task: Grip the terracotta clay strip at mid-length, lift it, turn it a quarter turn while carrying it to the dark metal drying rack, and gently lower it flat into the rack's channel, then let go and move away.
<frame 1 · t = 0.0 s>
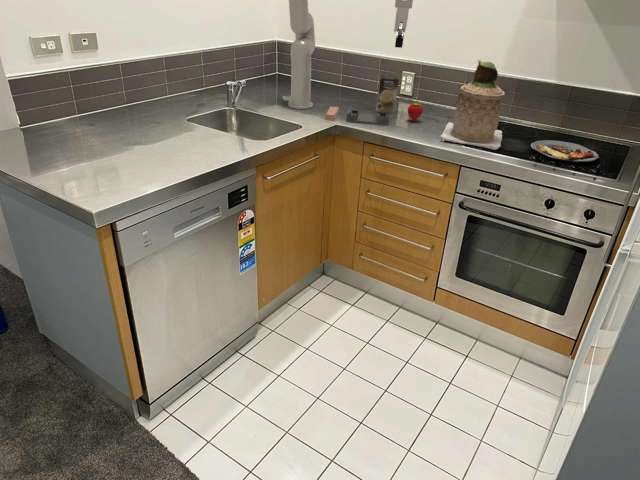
hand: (398, 45, 221), 31 cm above the worktop, tool pointing down, fingers open, 9 cm apart
clay strip: (332, 117, 229), on the worktop
strawberry: (413, 121, 228), on the worktop
coffee box: (385, 111, 242), on the worktop
food plate: (562, 155, 196), on the worktop
cookie jar: (471, 138, 210), on the worktop
drying rack: (367, 120, 225), on the worktop
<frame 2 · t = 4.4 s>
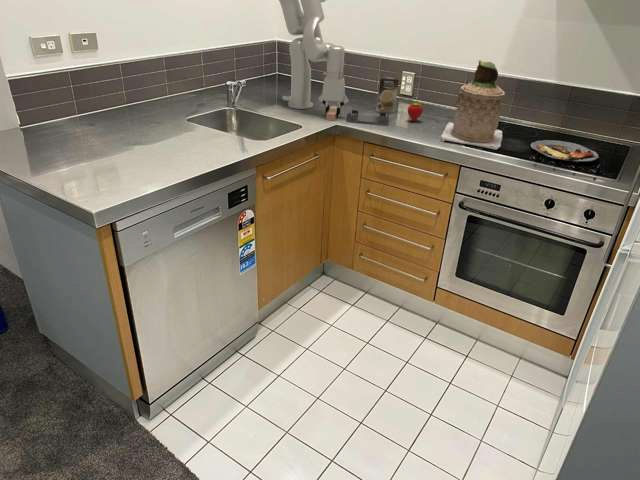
hand: (332, 115, 229), 1 cm above the worktop, tool pointing down, fingers closed on clay strip, 4 cm apart
clay strip: (332, 116, 229), on the worktop, touching gripper
everything else where it was.
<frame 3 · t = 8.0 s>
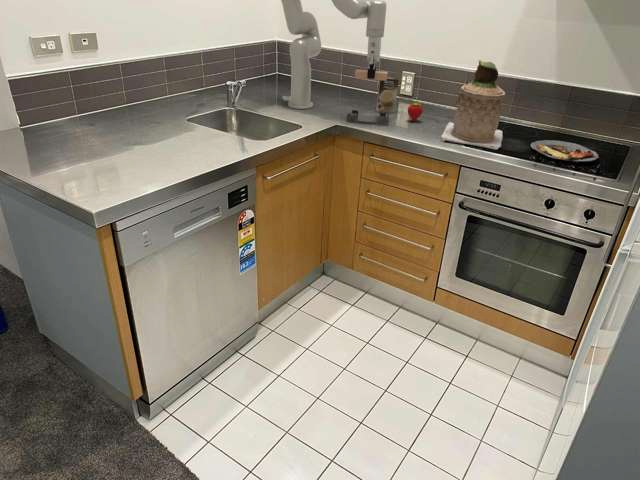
hand: (371, 77, 215), 20 cm above the worktop, tool pointing down, fingers closed on clay strip, 4 cm apart
clay strip: (370, 78, 216), point 19 cm above the worktop, touching gripper
everything else where it was.
when the fingers open (2 cm above the worktop, at t = 11.6 s): clay strip stays where it is, resting on drying rack.
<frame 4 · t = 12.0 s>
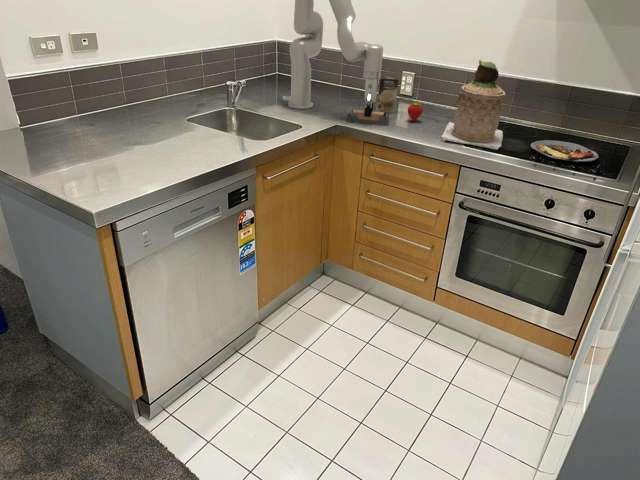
hand: (368, 113, 224), 3 cm above the worktop, tool pointing down, fingers open, 8 cm apart
clay strip: (367, 118, 225), point 1 cm above the worktop, touching drying rack
everything else where it was.
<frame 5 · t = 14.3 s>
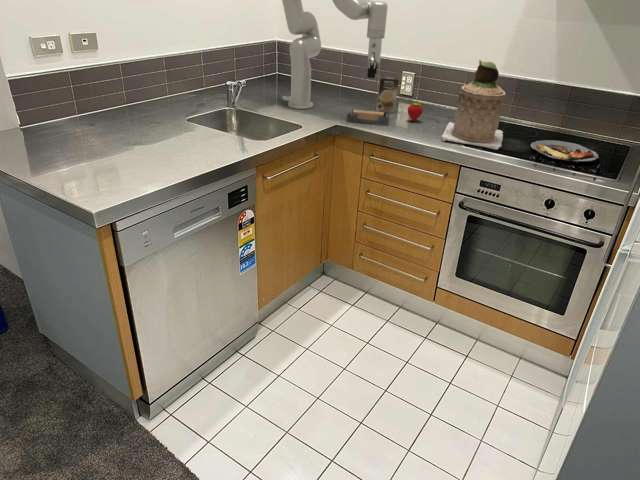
hand: (371, 75, 215), 20 cm above the worktop, tool pointing down, fingers open, 9 cm apart
nothing on the worktop moved.
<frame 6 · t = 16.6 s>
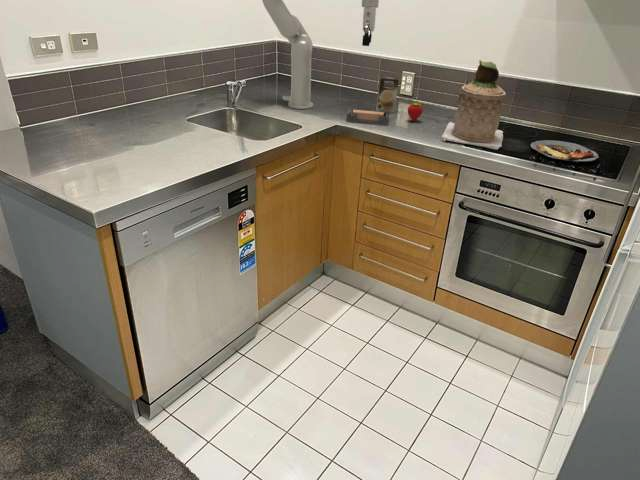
hand: (366, 44, 227), 30 cm above the worktop, tool pointing down, fingers open, 9 cm apart
nothing on the worktop moved.
at the end: clay strip 0.1 cm off-centre on the drying rack, point 1.0 cm above the drying rack's base; clay strip tilted 0°; the gripper is holding nothing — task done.
